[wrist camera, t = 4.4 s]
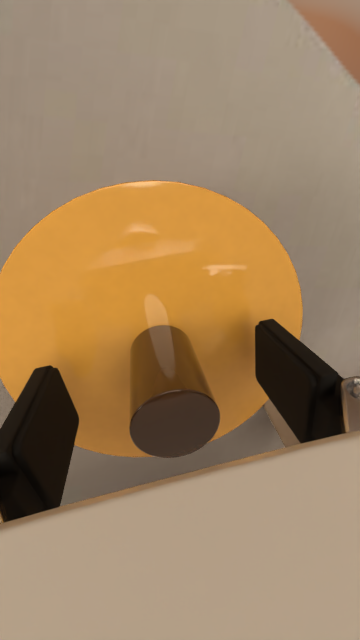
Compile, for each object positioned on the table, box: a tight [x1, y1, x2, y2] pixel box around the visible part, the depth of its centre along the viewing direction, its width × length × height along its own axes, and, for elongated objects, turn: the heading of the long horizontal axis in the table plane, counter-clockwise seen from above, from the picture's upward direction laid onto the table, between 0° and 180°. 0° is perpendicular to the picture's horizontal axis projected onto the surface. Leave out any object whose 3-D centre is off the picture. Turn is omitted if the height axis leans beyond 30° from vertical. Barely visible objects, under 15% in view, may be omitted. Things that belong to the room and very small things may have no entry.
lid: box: [0, 180, 303, 458], centre depth 11 cm, size 15×15×6 cm
